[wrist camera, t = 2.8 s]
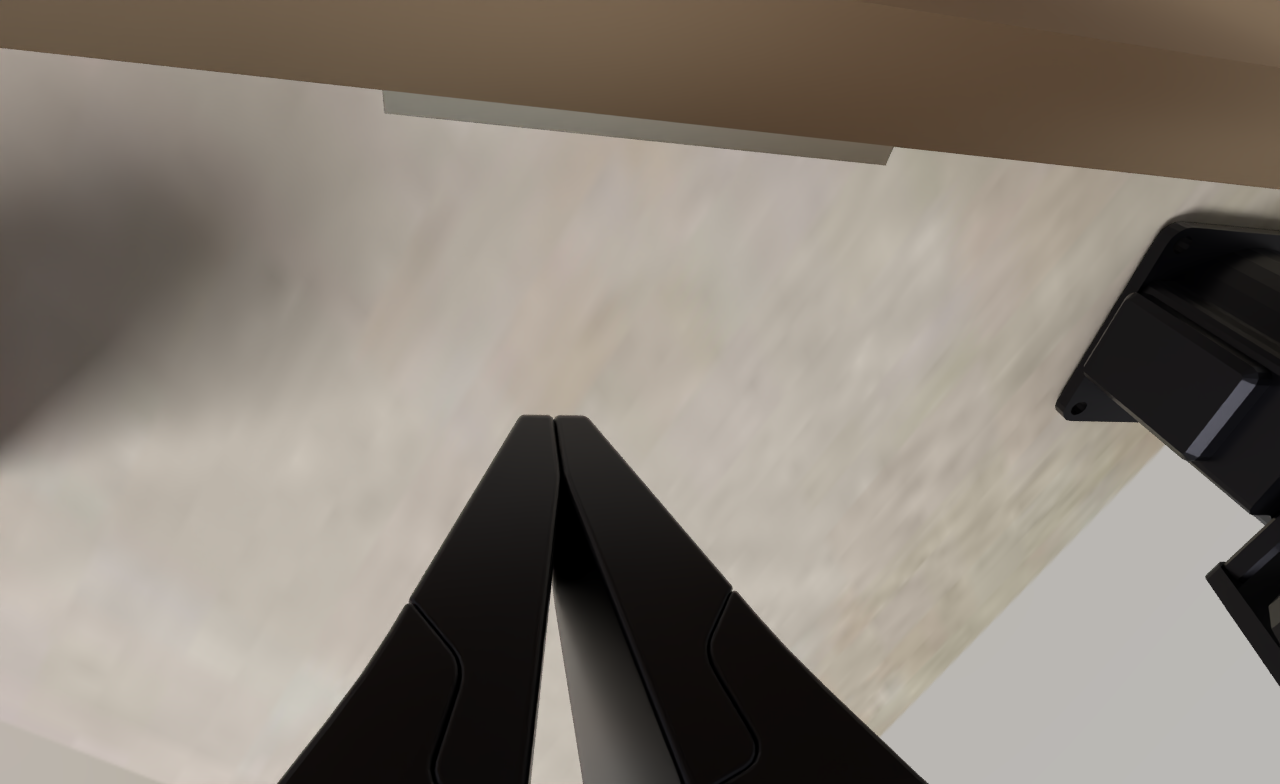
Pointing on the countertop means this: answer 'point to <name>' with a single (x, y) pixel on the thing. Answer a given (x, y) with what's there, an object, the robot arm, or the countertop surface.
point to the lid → (758, 70)
